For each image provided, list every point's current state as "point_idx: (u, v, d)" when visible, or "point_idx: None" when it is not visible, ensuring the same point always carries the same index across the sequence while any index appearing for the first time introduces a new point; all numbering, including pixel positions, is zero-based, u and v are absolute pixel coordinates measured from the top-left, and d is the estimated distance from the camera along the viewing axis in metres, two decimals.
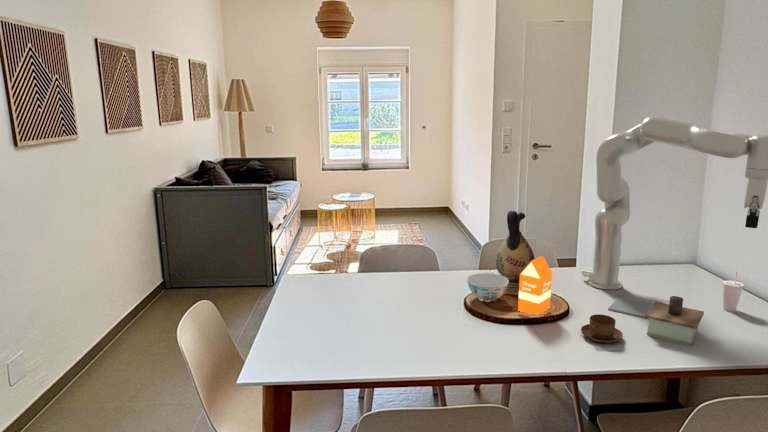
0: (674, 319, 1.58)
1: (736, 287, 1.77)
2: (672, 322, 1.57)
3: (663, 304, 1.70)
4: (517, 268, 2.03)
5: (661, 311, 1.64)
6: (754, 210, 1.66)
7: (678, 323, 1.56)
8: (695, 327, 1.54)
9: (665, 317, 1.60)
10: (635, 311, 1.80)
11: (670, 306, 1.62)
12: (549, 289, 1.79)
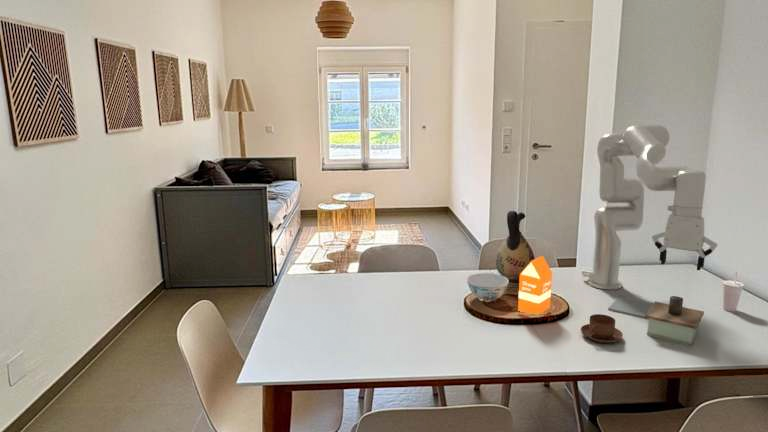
0: (674, 319, 1.58)
1: (736, 287, 1.77)
2: (672, 322, 1.57)
3: (663, 304, 1.70)
4: (517, 268, 2.03)
5: (661, 311, 1.64)
6: None
7: (678, 323, 1.56)
8: (695, 327, 1.54)
9: (665, 317, 1.60)
10: (635, 311, 1.80)
11: (670, 306, 1.62)
12: (549, 289, 1.79)
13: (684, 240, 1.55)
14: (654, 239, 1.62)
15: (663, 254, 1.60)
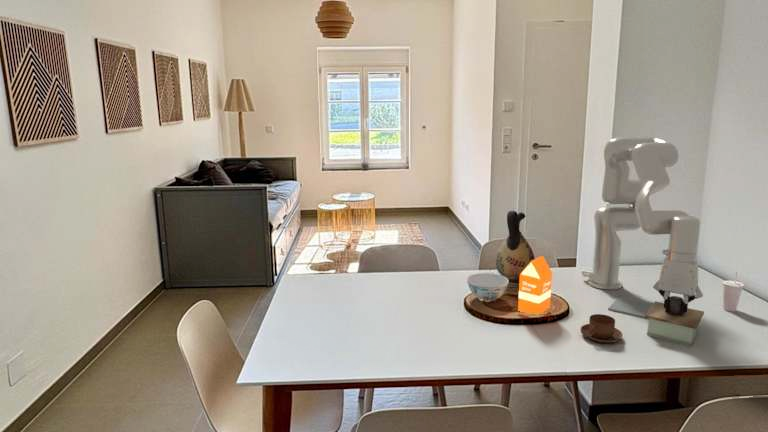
0: (674, 319, 1.58)
1: (736, 287, 1.77)
2: (672, 322, 1.57)
3: (663, 304, 1.70)
4: (517, 268, 2.03)
5: (661, 311, 1.64)
6: None
7: (678, 323, 1.56)
8: (695, 327, 1.54)
9: (665, 317, 1.60)
10: (635, 311, 1.80)
11: (670, 306, 1.62)
12: (549, 289, 1.79)
13: (679, 284, 1.58)
14: (656, 288, 1.64)
15: (667, 302, 1.62)
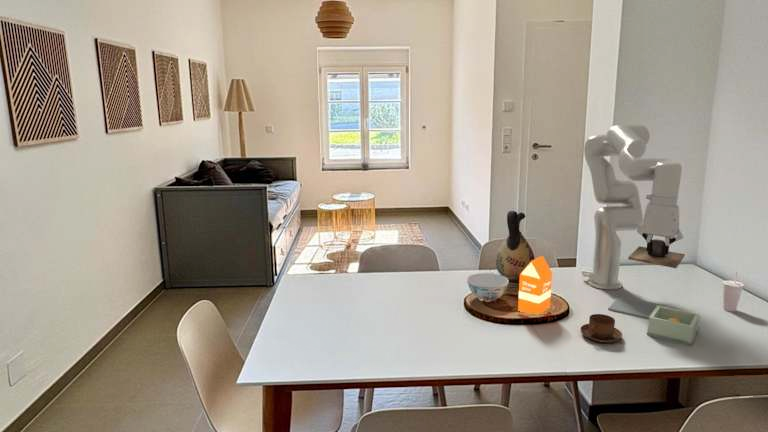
0: (656, 260, 1.67)
1: (736, 287, 1.77)
2: (653, 262, 1.66)
3: None
4: (517, 268, 2.03)
5: (644, 254, 1.73)
6: None
7: (659, 263, 1.65)
8: (675, 266, 1.62)
9: (647, 258, 1.68)
10: (635, 311, 1.80)
11: (652, 248, 1.71)
12: (549, 289, 1.79)
13: (661, 227, 1.66)
14: (640, 232, 1.73)
15: (650, 245, 1.71)
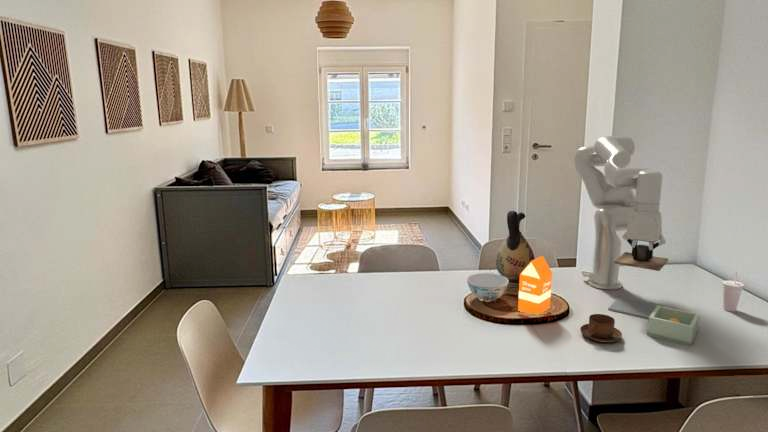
0: (640, 264, 1.76)
1: (736, 287, 1.77)
2: (638, 266, 1.75)
3: None
4: (517, 268, 2.03)
5: (629, 258, 1.82)
6: None
7: (643, 266, 1.74)
8: (658, 269, 1.71)
9: (632, 262, 1.77)
10: (635, 311, 1.80)
11: (637, 253, 1.79)
12: (549, 289, 1.79)
13: (644, 232, 1.76)
14: (625, 238, 1.82)
15: (634, 250, 1.80)
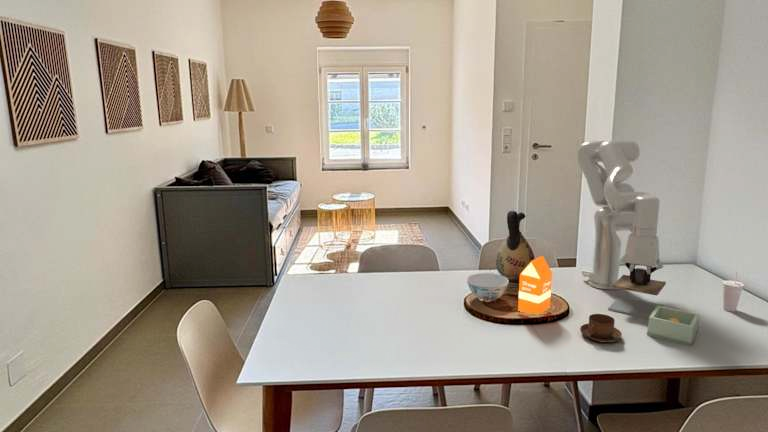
0: (638, 288, 1.77)
1: (736, 287, 1.77)
2: (636, 290, 1.76)
3: None
4: (517, 268, 2.03)
5: (627, 282, 1.83)
6: None
7: (641, 291, 1.75)
8: (656, 294, 1.73)
9: (630, 286, 1.79)
10: (635, 311, 1.80)
11: (635, 277, 1.81)
12: (549, 289, 1.79)
13: (642, 257, 1.77)
14: (623, 262, 1.84)
15: (632, 274, 1.81)
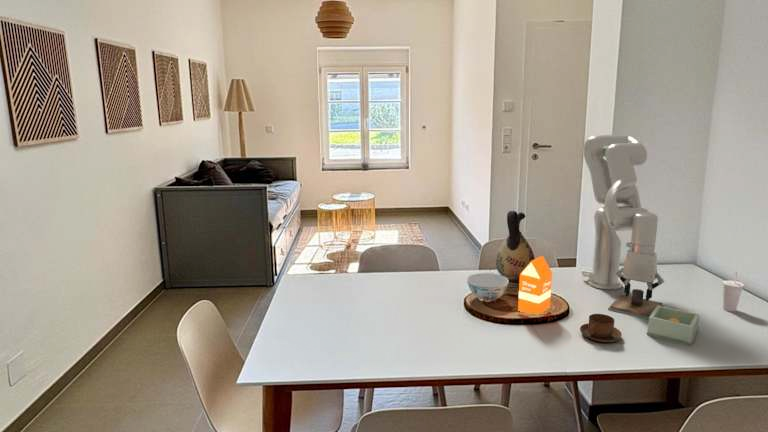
0: (635, 309, 1.80)
1: (736, 287, 1.77)
2: (633, 312, 1.78)
3: (628, 297, 1.91)
4: (517, 268, 2.03)
5: (625, 302, 1.86)
6: None
7: (638, 312, 1.77)
8: None
9: (627, 307, 1.81)
10: None
11: (632, 298, 1.83)
12: (549, 289, 1.79)
13: (640, 273, 1.79)
14: (618, 275, 1.86)
15: (627, 287, 1.84)
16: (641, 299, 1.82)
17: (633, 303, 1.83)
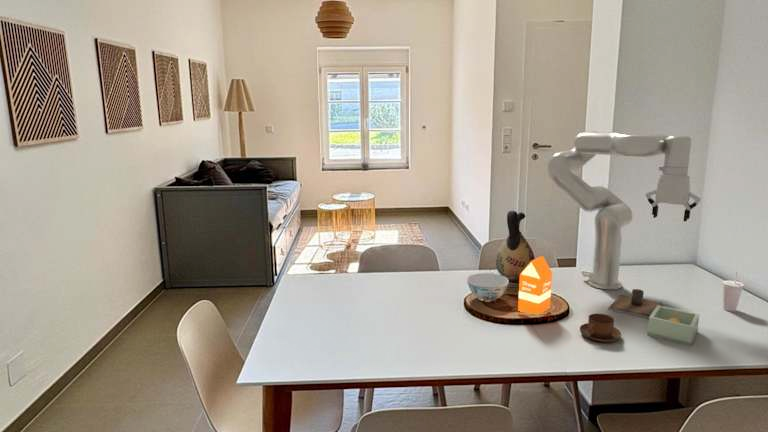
0: (635, 309, 1.80)
1: (736, 287, 1.77)
2: (633, 312, 1.78)
3: (628, 297, 1.91)
4: (517, 268, 2.03)
5: (625, 302, 1.86)
6: None
7: (638, 312, 1.77)
8: None
9: (627, 307, 1.81)
10: None
11: (632, 298, 1.83)
12: (549, 289, 1.79)
13: (673, 195, 1.82)
14: (647, 196, 1.89)
15: (655, 209, 1.87)
16: (641, 299, 1.82)
17: (633, 303, 1.83)
